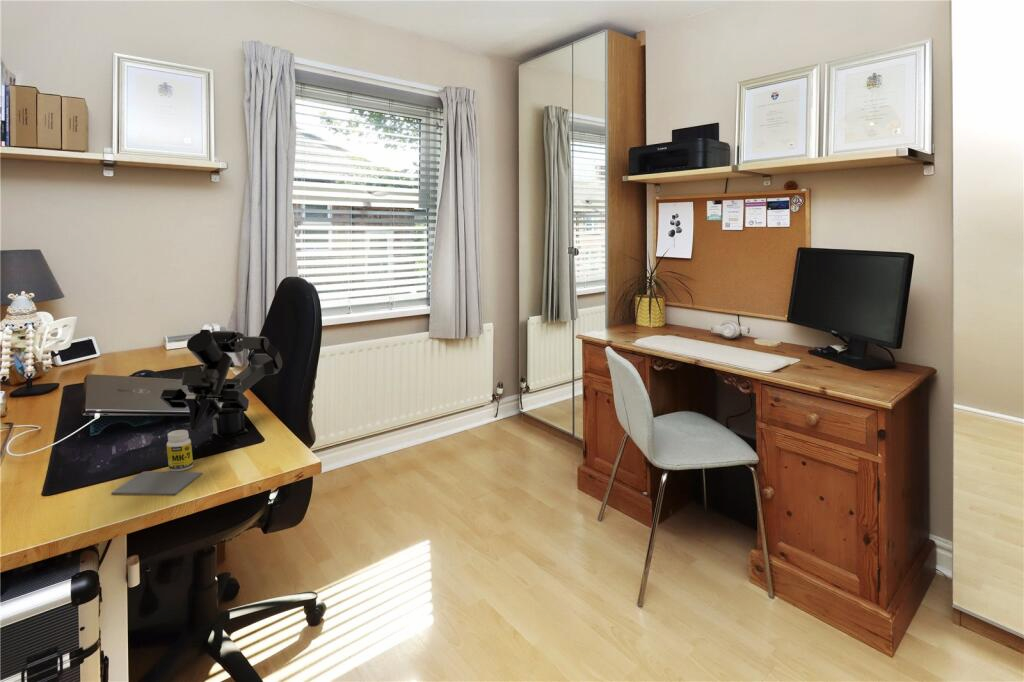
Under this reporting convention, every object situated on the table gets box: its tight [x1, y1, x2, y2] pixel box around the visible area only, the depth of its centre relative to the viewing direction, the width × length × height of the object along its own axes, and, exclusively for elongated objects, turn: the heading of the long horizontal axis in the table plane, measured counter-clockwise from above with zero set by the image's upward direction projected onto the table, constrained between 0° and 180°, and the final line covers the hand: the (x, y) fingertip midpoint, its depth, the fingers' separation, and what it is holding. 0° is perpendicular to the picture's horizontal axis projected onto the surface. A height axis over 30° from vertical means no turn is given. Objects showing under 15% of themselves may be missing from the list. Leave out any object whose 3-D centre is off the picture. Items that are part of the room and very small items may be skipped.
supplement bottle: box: [166, 429, 194, 472], centre depth 124 cm, size 5×5×8 cm
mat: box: [110, 470, 203, 496], centre depth 117 cm, size 10×13×1 cm
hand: (193, 430), depth 129 cm, fingers closed
